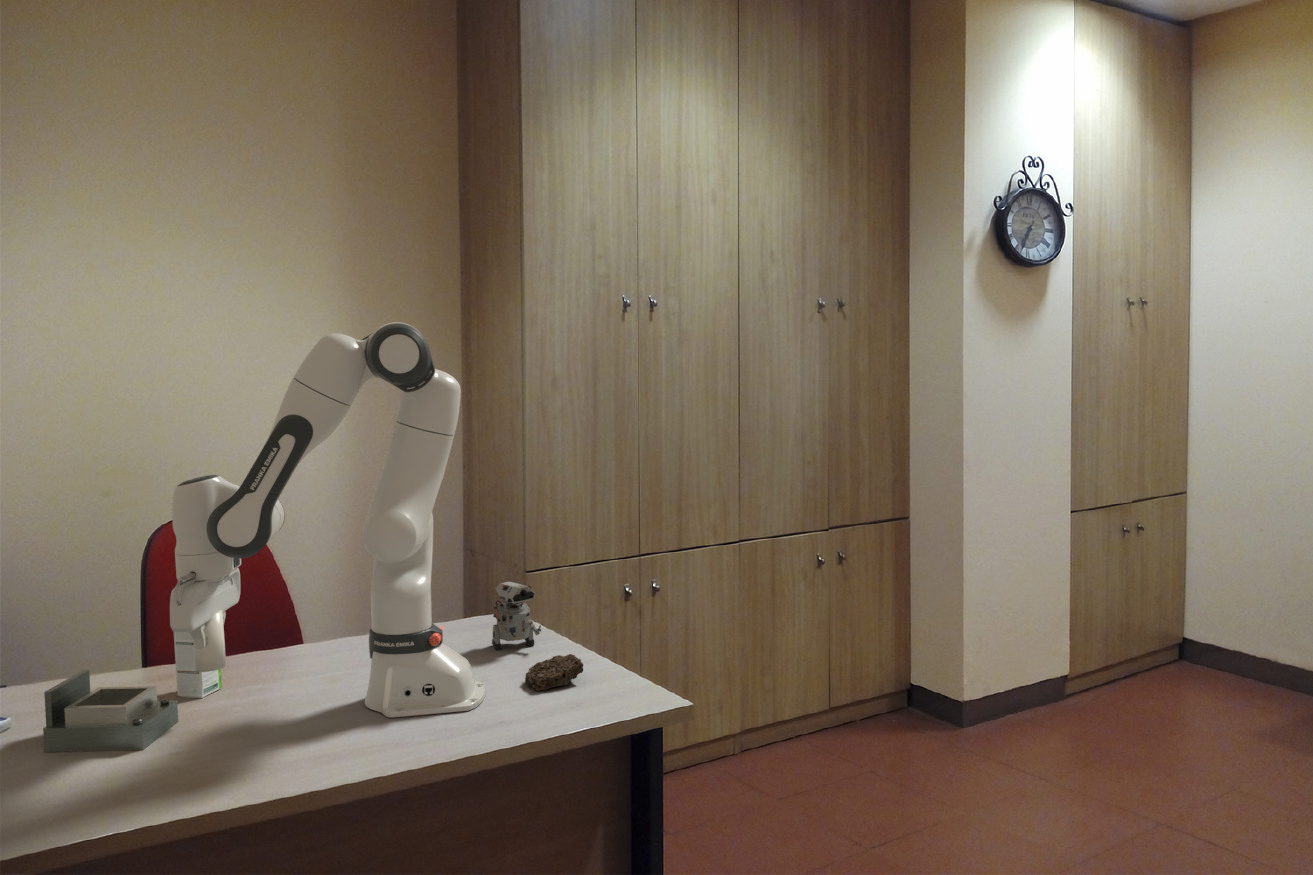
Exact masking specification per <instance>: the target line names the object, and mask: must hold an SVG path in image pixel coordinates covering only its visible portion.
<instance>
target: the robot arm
mask: <svg viewBox="0 0 1313 875" xmlns="http://www.w3.org/2000/svg"><path fill="white" fill-rule="evenodd" d="M429 346H430V345H429V344H428V341H427V340H426V338H425V336H424V335H423V334H422V333H421V332H420V331H419V329H417V328H416V327H414V326H412V325H411V324H408V323H405V322H400V321H399V322H398V321H394V322H389V323H386V324H383V325H381V326H379V327H378V328H376V329H375V330H374V331H373V332H372V333H370V334H368V335H367V336H366V337H364V338H361V339H357V338H354V337H352V336H350V335H347V334H345V333H338V332H337V333H336V332H334V333H333V332H332V333H328V334H325V335H324V336H322V337H321V338H320V339H319V340H318V341H317V342H316V344H315V345H314V346H313V347H312V349H310V351H309V352H308V354H307V355H306V357H305V358H304V359H303V361H302V363H301V364H300V366H298V369H297V371H296V372H295V373H294V375H293V378H292V379H291V381H290V383H289V385H288V387H287V389H286V391H285V394H284V395H283V399H282V400H281V403H280V406H279V408H278V412H277V414H276V416H275V419H274V422H273V425H272V427H271V430H270V431H269V432H270V433H269V435H268V437H267V440H266V441H265V443H264V445H263V447H262V449H261V450H260V452H259V454H258V456H257V458H256V459H255V461H254V463H253V464H252V466H251V468H250V469H249V471H248V472H247V475H246V476H245V478H244V480H243V482H242V483H241V484H240V485H238V484H235V483H232V482H230V481H228V480H227V479H225V478H224V477H222V476H220V475H218V474H210V475H203V476H198V477H194V478H192V479H187V480H185V481H182V482H181V483H178V485H177V486H176V487H175V488H174V490H173V495H172V508H171V510H172V512H171V513H172V515H171V516H172V518H171V520H172V530H173V533H174V535H175V538H176V544H175V548H174V560H175V571H176V572H175V573H176V575H175V576H176V579H177V583H176V586H174V588H172V590H171V593H170V599H169V625H170V628H171V630H172V632H173V633H174V632H188V631H189V633H190V634H191V636H192V638H193V640H194V648H196V649H202V648H204V647H206V646H207V645H208V642H207V641H208V638H207V636H205V634H204V631H203V629H204V628H205V626H204V623H206V622H207V621H209V620H211V619H212V618H213V615H214V614H216V613H218V612H219V611H221V610H222V612H223V626H224V625H225V621H226V615H227V614H226V613H227V612H226V611H227V610H228V609H231V607H233V606H235V605H236V604H238V603H239V601H240V596H241V572H240V568H239V567H240V566H241V565H242V559H245V558H246V559H247V558H251V557H252V556H255V555H256V554H258V553H259V552H261V551H262V550H263V549H264V548H265V546H266V545H267V543H268V542H270V541H271V539H273V538H274V537H275V536H276V535H277V534H278V533H279V532H280V530H282V528H283V525H284V523H285V518H286V514H285V509H284V505H283V504H282V502H281V501H280V497H281V495H282V494H283V491H284V489H285V487H286V486H287V485H288V483H289V481H290V480H291V477H292V476H293V474H294V472H295V470H296V469H297V468H298V466H299V464H300V463H301V462H302V461H303V460H304V459H305V457H307V455H308V454H310V453H311V452H312V450H314V449H316V447H318V446H319V445H320V444H321V443H323V442H324V441H326V439H328V438H329V437H330V436H331V435H332V434H333V433H334V432H335V431H336V429H337V428H338V427H339V425H341V423H342V421H343V420H344V419H345V417H346V415H347V414H348V412H349V411H350V409H351V406H352V405H353V404H354V401H355V399H356V397H357V396H358V394H359V393H360V391H361V389H362V388H363V386H364V385H365V384H366V383H367V382H369V381H370V380H373V379H377V378H378V379H381V380H384V381H385V382H387V383H388V384H391V385H392V386H394V387H396V388H397V389H399V391H400V403H399V408H398V412H397V415H396V418H395V423H394V425H393V430H392V433H391V434H392V435H391V438H390V442H389V445H388V449H387V453H386V457H385V461H384V464H383V466H382V470H381V471H380V475H379V478H378V481H377V484H376V486H375V489H374V492H373V495H372V498H371V501H370V504H369V507H368V510H367V513H366V517H365V520H364V524H363V527H362V542H363V545H364V549H365V550H366V551H367V553H368V554H369V555H370V556H371V557H373V567H372V568H373V569H372V577H371V584H370V612H371V613H370V614H371V615H370V616H371V617H370V618H371V628H370V629H369V631H368V632H369V635H368V653H369V659H370V660H371V661H370V672H369V679H368V686H367V691H366V696H365V699H364V702H363V703H364V705H365V707H366V708H368V709H370V710H372V711H375V712H379V713H382V715H383V716H385V717H387V718H400V717H401V718H402V717H412V716H425V715H433V714H435V715H436V714H444V713H445V714H446V713H455V712H456V713H457V712H467V711H471V710H473V709H475V708H476V707H478V706H479V705H480V704H481V703H483V701H484V699H485V696H486V692H487V691H486V685H485V684H484V683H483V682H481V681H479V680H474V673H473V669H472V665H471V664H470V662H469V660H468V659H467V658H466V657H464V656H462V655H461V654H459V653H458V652H456V651H455V650H454V649H453V648H451V647H449V646H448V645H446V644H444V643H443V640H444V639H443V638H444V637H443V636H444V635H443V632H444V627H443V625H441V626H440V627H438V626H437V625H435V624H434V623H433V622H432V621H433V620H432V569H433V553H434V552H433V549H434V546H433V544H434V516H433V515H434V514H433V510H434V507H435V503H436V500H437V497H438V494H439V490H440V487H441V485H442V481H443V479H444V475H445V472H446V469H447V465H448V461H449V458H450V454H451V450H452V445H453V443H454V442H453V441H454V438H455V435H456V430H457V426H458V420H459V414H460V409H461V408H460V407H461V406H460V405H461V397H462V396H461V395H462V393H461V392H462V390H461V389H462V388H461V385H460V384H459V382H458V380H457V379H456V377H454V376H453V375H451V374H449V373H448V372H445V371H444V370H440V369H437V368H435V365H434V361H433V357H432V354H431V353H432V352H431V350H430V347H429Z"/></svg>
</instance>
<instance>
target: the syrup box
mask: <svg viewBox="0 0 1313 875" xmlns="http://www.w3.org/2000/svg"><path fill="white" fill-rule="evenodd" d="M173 640H174V659H175V660H174V661H175V675H176V691H177V696H178V697H181V698H191V699H205V697H206V696H208V695H210V694H213V693H214V692H216V691H218V690H221V689H222V688H223V682H222V668H221V669H219V670H215V671H209V672H198V671H196V670H195V658H194V644H193V638H192V636H191V634H190V633H189V631H188V632H174V631H173Z"/></svg>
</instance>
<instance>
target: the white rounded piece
mask: <svg viewBox="0 0 1313 875" xmlns="http://www.w3.org/2000/svg"><path fill="white" fill-rule="evenodd" d="M204 626H205V628H204V629H203V631H204V634H205V636H207V638H208V641H207V642H208V645H207V646H206V647H204V648H202V649H196V648H194V658H195V670H196V671H198V672H209V671H215V670H219V669H221V670H222V669H223V668H225V667H226V666H227V658H226V643H225V630H224V625H223V612H222V610H221V611H219V612H218V613H216V614H214V615H213V618H212V619H211V620H209V621H207V622H206V623H204ZM193 644H194V640H193Z"/></svg>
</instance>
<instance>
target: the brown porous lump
mask: <svg viewBox="0 0 1313 875" xmlns="http://www.w3.org/2000/svg"><path fill="white" fill-rule="evenodd" d="M583 672H584V663H583V662H582V659H581V658H579V657H578V656H576V655H575V654H572V653H569V654H567V655H559V654H558V655H555V656H552V657H551V658H549V659H545V660H543V661H539V662H536V663H535V664H534V665H532V666H531V667H529V668H528V671H527V672H526V673H525V678H524V679H525V680H524V683H525V685H526V686H527V687H529V688H531V689H532V690H533V691H542V690H548V689H550V688H555V687H560V686H563V685H568V684H569V683H570V682H571V681H572V680H574V679H577V678H578V676H579V674H582V673H583Z"/></svg>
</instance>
